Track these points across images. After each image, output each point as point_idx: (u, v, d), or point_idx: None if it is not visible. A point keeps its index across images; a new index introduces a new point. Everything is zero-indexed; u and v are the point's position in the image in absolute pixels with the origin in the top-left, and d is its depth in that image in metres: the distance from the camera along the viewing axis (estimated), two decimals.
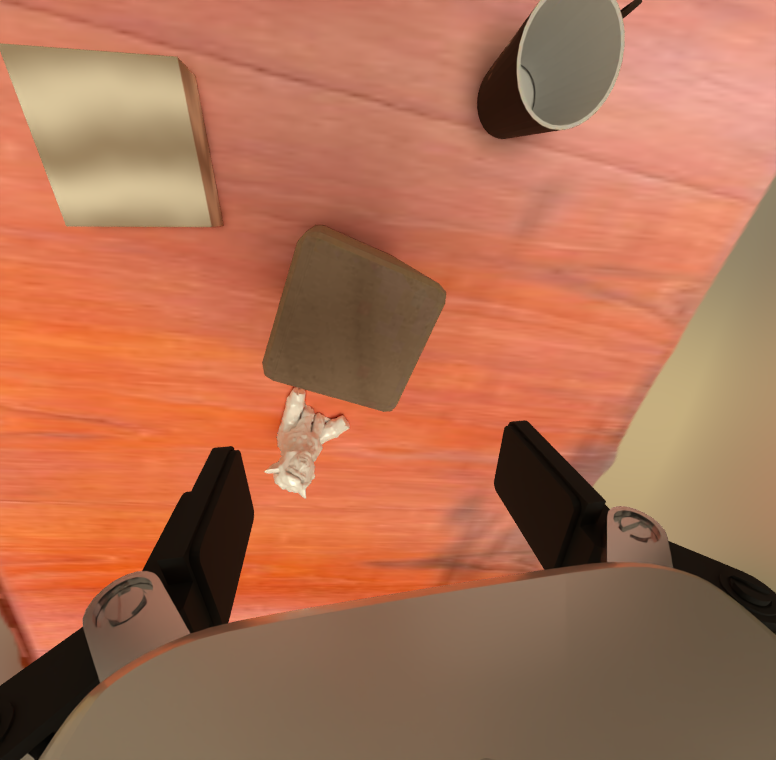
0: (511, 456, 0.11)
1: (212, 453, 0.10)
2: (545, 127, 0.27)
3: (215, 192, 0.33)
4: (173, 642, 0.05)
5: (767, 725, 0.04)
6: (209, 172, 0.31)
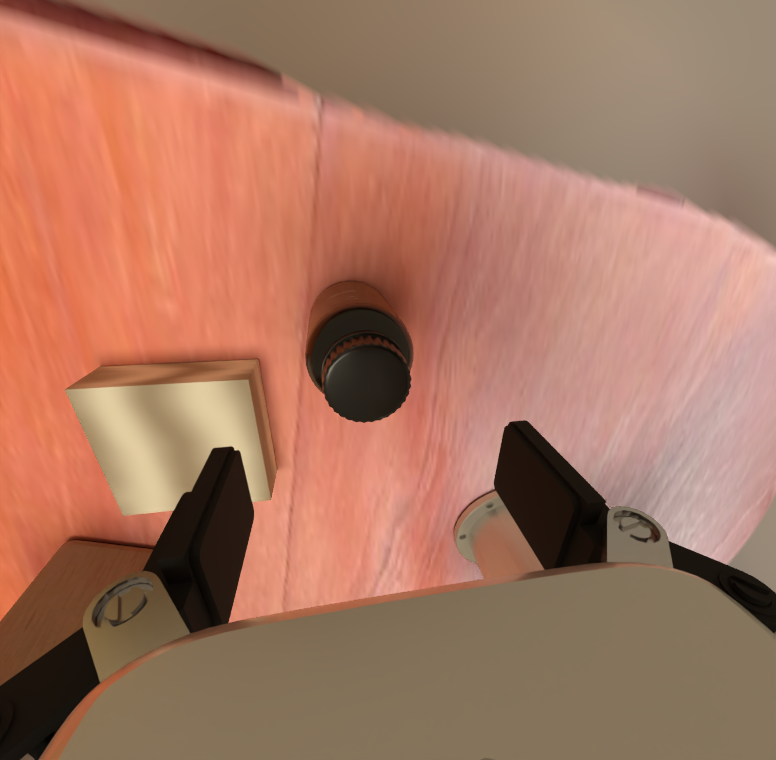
0: (511, 456, 0.11)
1: (212, 453, 0.10)
2: None
3: None
4: (173, 642, 0.05)
5: (766, 724, 0.04)
6: None
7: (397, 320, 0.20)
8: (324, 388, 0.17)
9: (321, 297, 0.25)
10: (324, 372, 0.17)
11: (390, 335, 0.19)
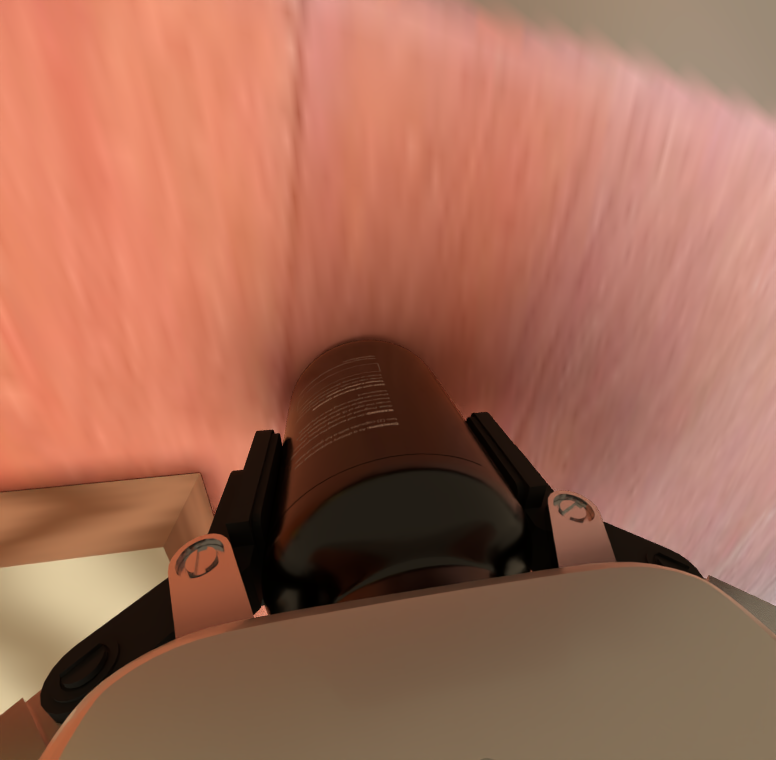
0: None
1: (257, 435, 0.11)
2: None
3: None
4: (173, 642, 0.05)
5: (766, 724, 0.04)
6: None
7: (506, 496, 0.07)
8: None
9: (309, 380, 0.12)
10: None
11: (496, 553, 0.07)
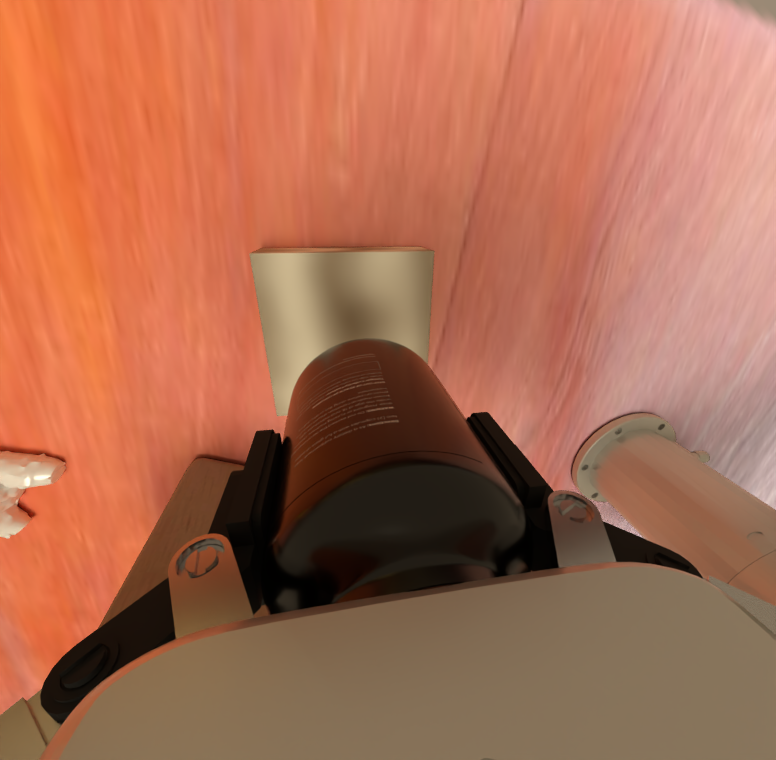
0: None
1: (257, 435, 0.11)
2: None
3: None
4: (173, 642, 0.05)
5: (766, 725, 0.04)
6: None
7: (507, 493, 0.07)
8: None
9: (309, 379, 0.12)
10: None
11: (496, 551, 0.07)
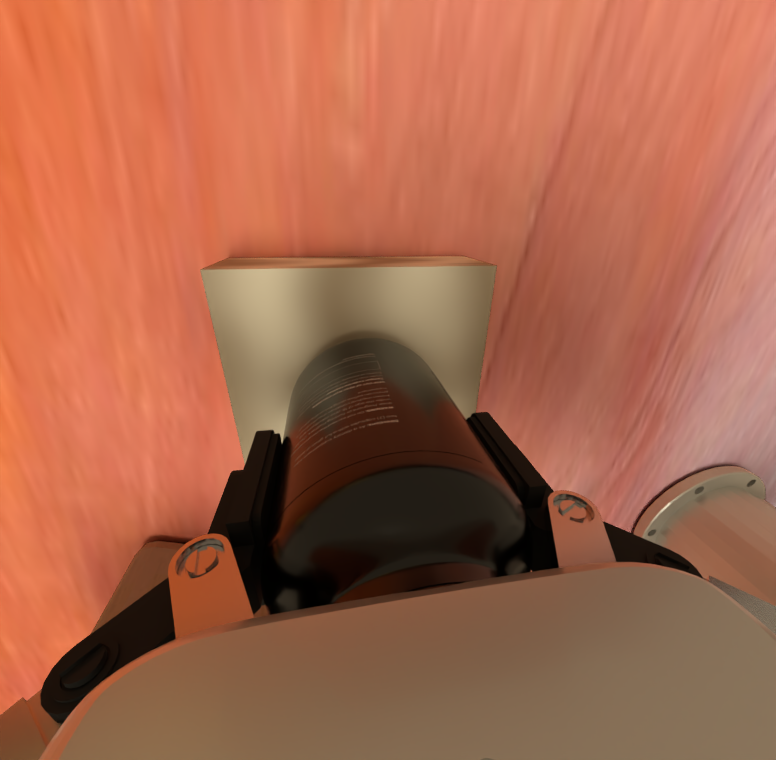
0: None
1: (257, 435, 0.11)
2: None
3: None
4: (173, 642, 0.05)
5: (766, 725, 0.04)
6: None
7: (506, 493, 0.07)
8: None
9: (309, 378, 0.12)
10: None
11: (496, 551, 0.07)
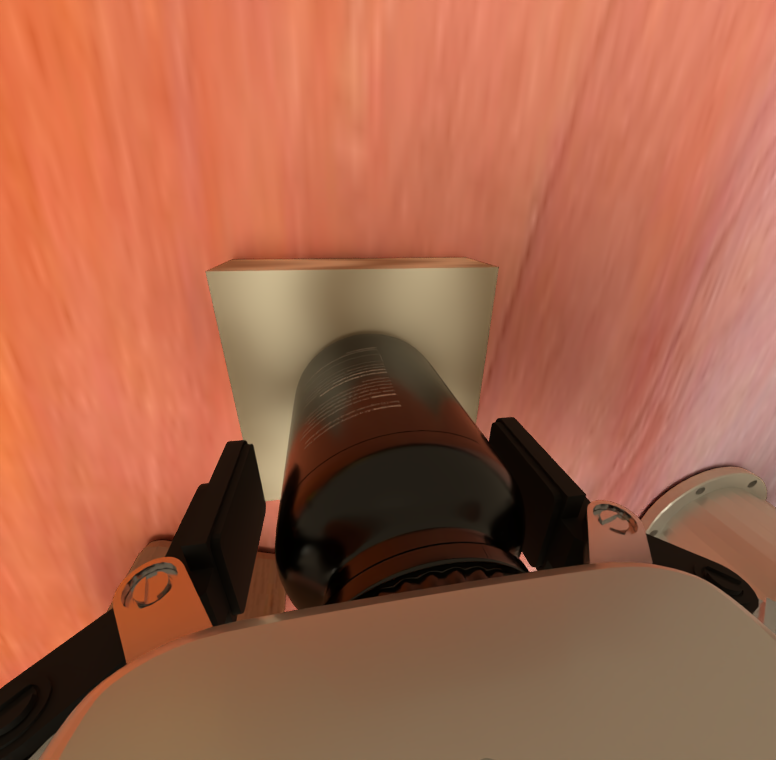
0: (498, 452, 0.12)
1: (227, 446, 0.10)
2: None
3: None
4: (173, 642, 0.05)
5: (766, 725, 0.04)
6: None
7: (500, 469, 0.08)
8: None
9: (315, 371, 0.13)
10: None
11: (491, 520, 0.07)
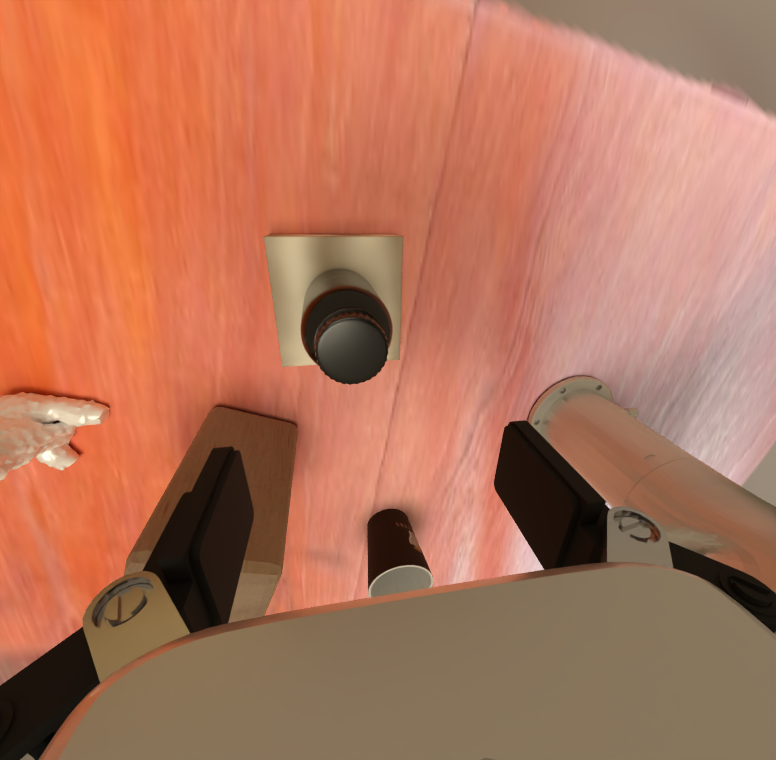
0: (511, 456, 0.11)
1: (212, 453, 0.10)
2: (369, 586, 0.42)
3: None
4: (173, 642, 0.05)
5: (767, 726, 0.04)
6: None
7: (378, 299, 0.23)
8: (316, 354, 0.21)
9: (313, 282, 0.28)
10: (316, 341, 0.21)
11: (371, 312, 0.23)
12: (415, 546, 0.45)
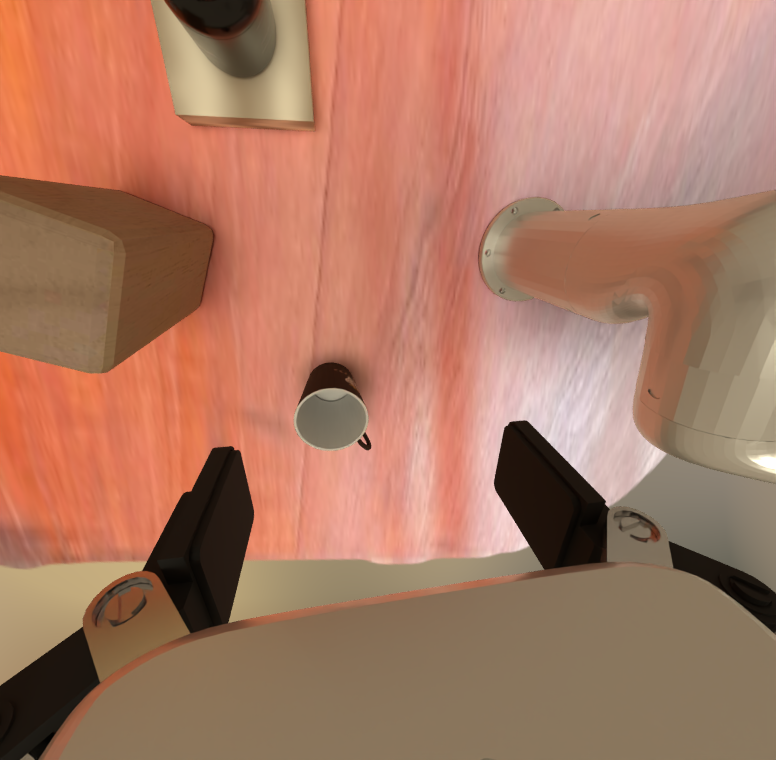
0: (511, 456, 0.11)
1: (212, 453, 0.10)
2: None
3: (222, 125, 0.33)
4: (173, 642, 0.05)
5: (767, 726, 0.04)
6: (237, 124, 0.33)
7: None
8: None
9: None
10: None
11: None
12: (351, 384, 0.41)
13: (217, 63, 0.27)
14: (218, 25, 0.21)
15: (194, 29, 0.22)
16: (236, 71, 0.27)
